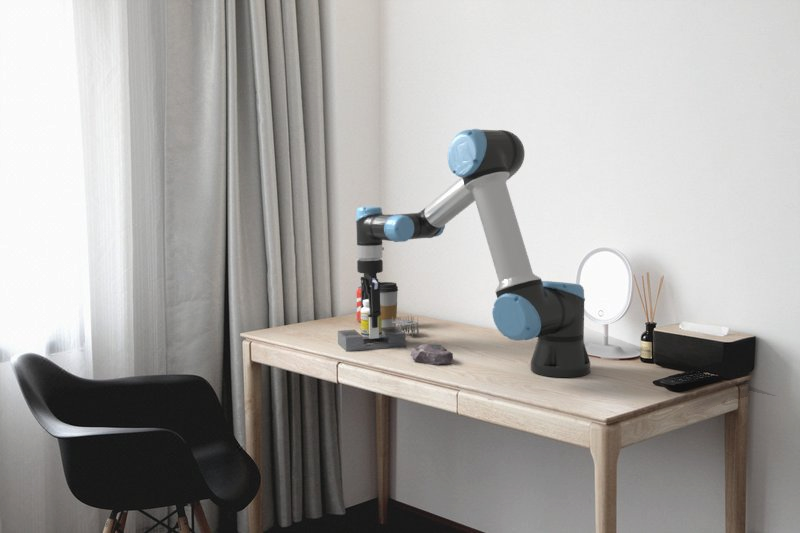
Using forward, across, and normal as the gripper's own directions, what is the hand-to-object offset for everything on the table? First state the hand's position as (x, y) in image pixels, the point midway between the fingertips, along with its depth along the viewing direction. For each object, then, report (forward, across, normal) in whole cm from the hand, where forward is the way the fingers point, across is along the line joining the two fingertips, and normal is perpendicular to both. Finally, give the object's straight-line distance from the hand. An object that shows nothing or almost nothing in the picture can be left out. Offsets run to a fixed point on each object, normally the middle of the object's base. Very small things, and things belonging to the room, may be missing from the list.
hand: (371, 335), depth 248 cm
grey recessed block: (+3, 0, 0) cm, 3 cm away
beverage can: (+3, +38, -8) cm, 39 cm away
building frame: (+3, +10, -14) cm, 18 cm away
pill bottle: (0, 0, 0) cm, 0 cm away
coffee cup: (+3, +23, -11) cm, 26 cm away
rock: (+3, -26, -10) cm, 28 cm away
